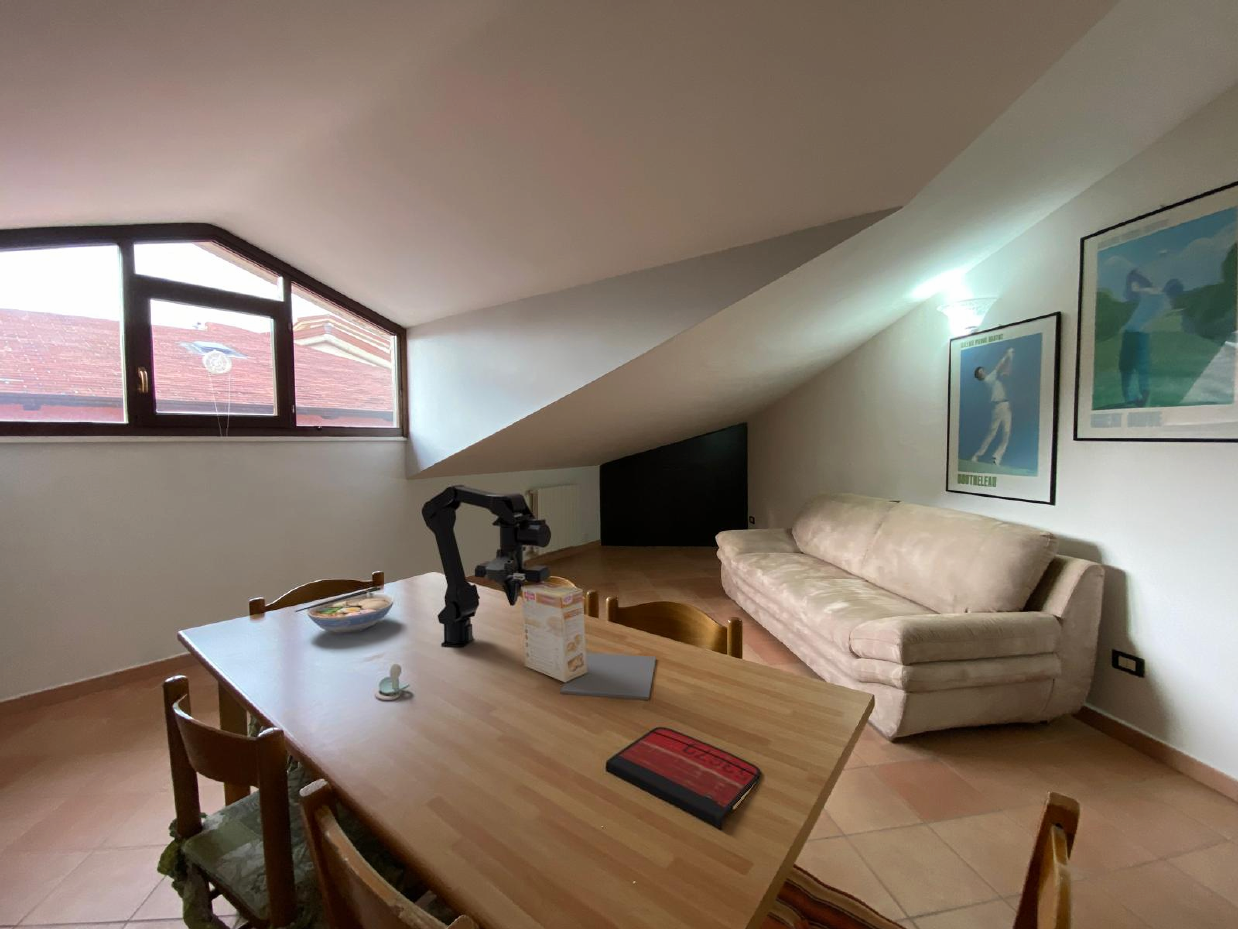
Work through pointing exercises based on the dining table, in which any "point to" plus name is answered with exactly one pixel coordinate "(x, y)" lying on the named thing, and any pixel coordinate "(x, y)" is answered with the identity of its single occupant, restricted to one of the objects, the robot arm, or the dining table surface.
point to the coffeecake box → (554, 630)
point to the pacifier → (391, 684)
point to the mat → (614, 676)
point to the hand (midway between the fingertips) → (512, 605)
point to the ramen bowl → (350, 611)
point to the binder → (685, 773)
